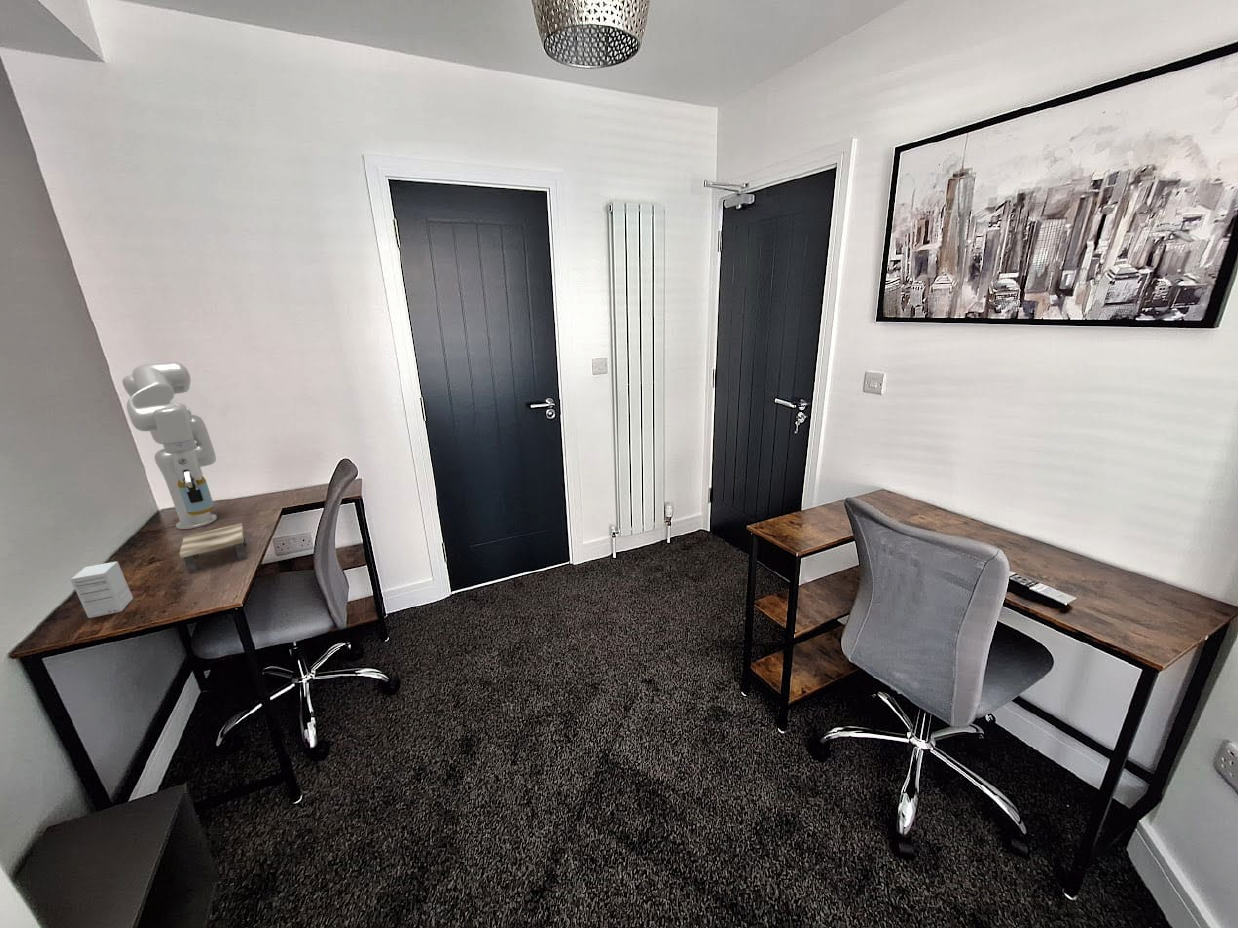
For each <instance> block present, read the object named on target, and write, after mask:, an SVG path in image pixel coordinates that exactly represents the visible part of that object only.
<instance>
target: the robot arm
mask: <svg viewBox="0 0 1238 928" xmlns="http://www.w3.org/2000/svg"><path fill="white" fill-rule="evenodd" d="M121 382H122V386H123V388H124V390H125V392H126V393H127V394H128V395H129V398H128V400H127V402H126V409H127V414H128V416H129V419H130V422H131V423H132V425H133V427H134V428H135V429H136V430H138V431H140V432H150V434H151V437H152V439H153V440H154V442H155V443H157V444H158V445H162V446H163V448H162V449H160V450H157V452H156V453H155V454H154V461H155V464H156V465H157V467H158V469H159V471H160V473H161V475H162V476H163V478H164V480H165V483H166V485H167V486H166V487H167V488H168V491H169V494H170V497H171V499H172V503H173V505H174V508H175V511H176V513H177V516H178V519H179V521H178V522H177V523H176V524H175V527H176V529H178V530H190V529H196V528H200V527H202V526H206V525H209V524H211V523H213V522H214V521H216V520H218V519H217V518H218V517H217V514H214V513H211V511H210V512H207V513H204V514H199V515H190V514H188V513H187V511H186V508H185V505H184V502H183V499H182V496H181V493H180V491H179V488H178V479H177V477H176V474H175V470H177V473H178V475H179V478H180V480H181V482H182V483H185V486H186V489H187V494H188V497H189V500H190V503H196V502H201V501H203V497H202V494H201V491H200V489H198V485H197V481H196V480H199V481H200V480H201V479H202V476H203V475H204V474H203V471H202V468H201V467H206V466H211V465H213V464H215V462H216V460H217V456H216V453H215V450H214V449H215V448H214V446H213V443H212V441H211V440H212V439H211V437H210V434H209V432H208V428H207V426H206V424H205V422H204V420H203V419H202V417H200V416H199V415H195V414H192V411H191V409H190V408H189V407H188V406H187V405H186V404H184V403H182V402H181V403H180V402H176V403H171V401H172V400H173V399H174V397H175V395H176V394H184V393H187V392H188V391H190V387H191V375H190V373H189V370H188V369H187V368H186V366H185V365H184V364H182V363H180V362H176V361H171V362H157V363H146V364H142V365H141V364H140V365H139V366H137V367H135V368H134V369H133V370H132V373H131V374H129V375H126V376H125V377H123V378H122V381H121ZM199 467H200V469H201V472H200V469H199ZM183 470H184V471H183ZM201 473H202V476H201ZM183 479H184V481H183ZM191 479H194V480H193V481H191ZM192 483H194V484H192Z"/></svg>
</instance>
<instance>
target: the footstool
mask: <svg viewBox="0 0 1238 928" xmlns="http://www.w3.org/2000/svg"><path fill="white" fill-rule="evenodd" d="M246 545H247V541H246V538H245V535H244V525H243V523H242V522H241V523H236V524H232V525H228V526H224V527H220V528H215V529H211V530H206V531H202V532H197V533H194V534H193V533H192V534H190V535H185V536H183V538H182V543H181V547H180V549H179V555H180V558H181V559H183V561H184V563H185V566H186V568H187V571H188V574H193V573H197V572H198V566H197V564H196V561H195V558H200V557H201V554H202V553H206V552H211V551H215V550H219V549H223V548H227V547H231V546H234V547H235V548H234V549H235V551H236V553H237V557H238V559H239V561H242V560H246V559H247V553H246V549H245V546H246Z"/></svg>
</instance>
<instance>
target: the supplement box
mask: <svg viewBox="0 0 1238 928" xmlns="http://www.w3.org/2000/svg"><path fill="white" fill-rule="evenodd" d="M69 580H70V581H71V584H72V586H73V588H74V590H75V592H76V595H77V597H78V599H79V601H80V603H81V606H82V608H83V610H84V611H85V614H86V616H87V618H88V619H92V618H97V617H101V616H106V615H111V614H116V613H121V612H122V611H123V610H124V609H126V606H128V605H129V603H130V602H131V601H132V600H133V599H134V597H133V595H132V591H131V590H130V588H129V585H128V582H127V580H126V579H125V575H124V573H123V571H122V569H121V566H120V563H119V562H118V561H110V562H106V563H101V564H95V565H89V566H85V567H83V568H82V569H81V570H79V571H78V572H77V573H76V574H75V575H74V576H73V577H72V578H70V579H69Z"/></svg>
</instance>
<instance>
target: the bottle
mask: <svg viewBox="0 0 1238 928" xmlns="http://www.w3.org/2000/svg"><path fill="white" fill-rule="evenodd" d="M200 468H201V467H199V469H200ZM201 470H202V468H201V469H200V472H201ZM183 471H184V470H183ZM202 473H203V472H202ZM202 473H201V476H202V479H201V480H200V481H199V480H196V481H197V485H198V489H200V491H201V494H202V497H203V501H201V502H196V503H190V500H189V497H188V494H187V489H186V486H185V483H182V482H181V480H180V478H179V475H178V473H177V470H175V474H176V477H177V479H178V488H179V491H180V493H181V496H182V499H183V502H184V505H185V508H186V511H187V513H188V514H190V515H199V514H204V513H207V512H210V513H211V511H213V510H214V509H215V504H214V501H213V498H212V495H211V491H210V488H209V485H208V483H207V480H206V478H205V477H204V476H203V475H202ZM193 480H194V479H191V481H193ZM183 481H184V479H183ZM192 484H194V483H192Z"/></svg>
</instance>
